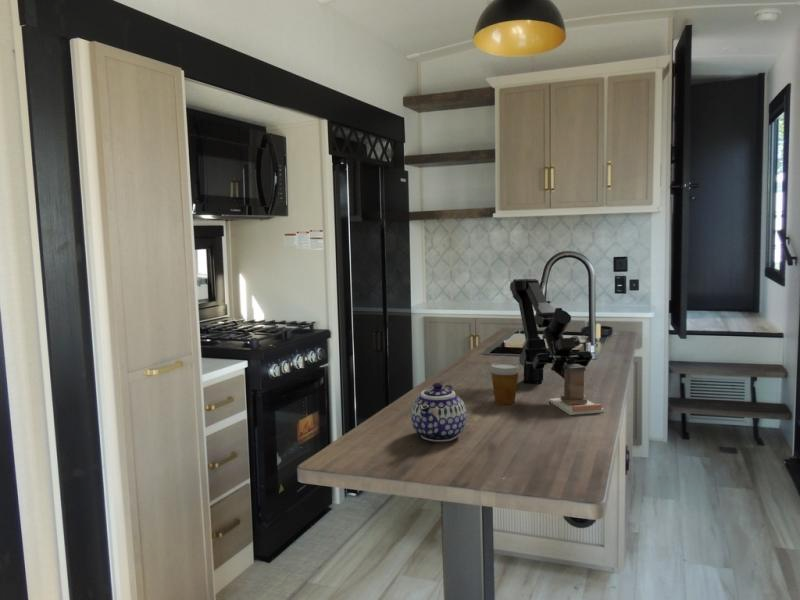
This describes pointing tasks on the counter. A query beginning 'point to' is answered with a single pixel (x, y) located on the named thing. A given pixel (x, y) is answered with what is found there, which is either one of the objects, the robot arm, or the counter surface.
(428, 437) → the teapot
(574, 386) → the brown wooden pedestal
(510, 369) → the disposable coffee cup
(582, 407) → the thin white base plate
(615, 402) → the counter surface
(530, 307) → the robot arm
